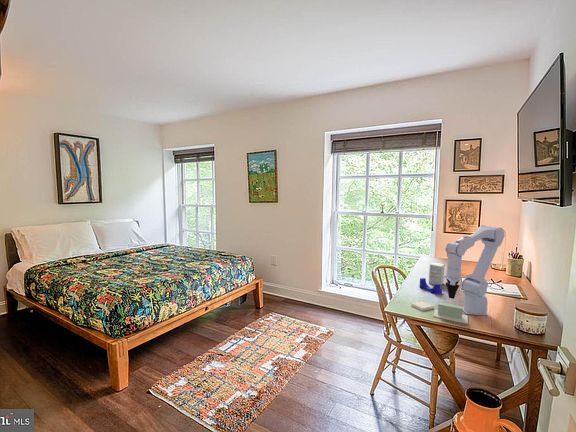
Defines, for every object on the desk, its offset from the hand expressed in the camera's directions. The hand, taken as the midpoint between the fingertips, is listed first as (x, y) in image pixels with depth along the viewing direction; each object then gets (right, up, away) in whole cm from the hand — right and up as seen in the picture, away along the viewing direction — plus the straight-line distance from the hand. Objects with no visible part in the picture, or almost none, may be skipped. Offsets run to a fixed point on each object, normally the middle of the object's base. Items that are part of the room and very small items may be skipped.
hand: (451, 295), depth 139 cm
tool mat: (0, -10, +1) cm, 10 cm away
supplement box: (+17, -6, +49) cm, 52 cm away
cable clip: (+7, -7, +36) cm, 37 cm away
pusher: (0, -10, +1) cm, 10 cm away
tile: (-5, -9, +13) cm, 16 cm away
